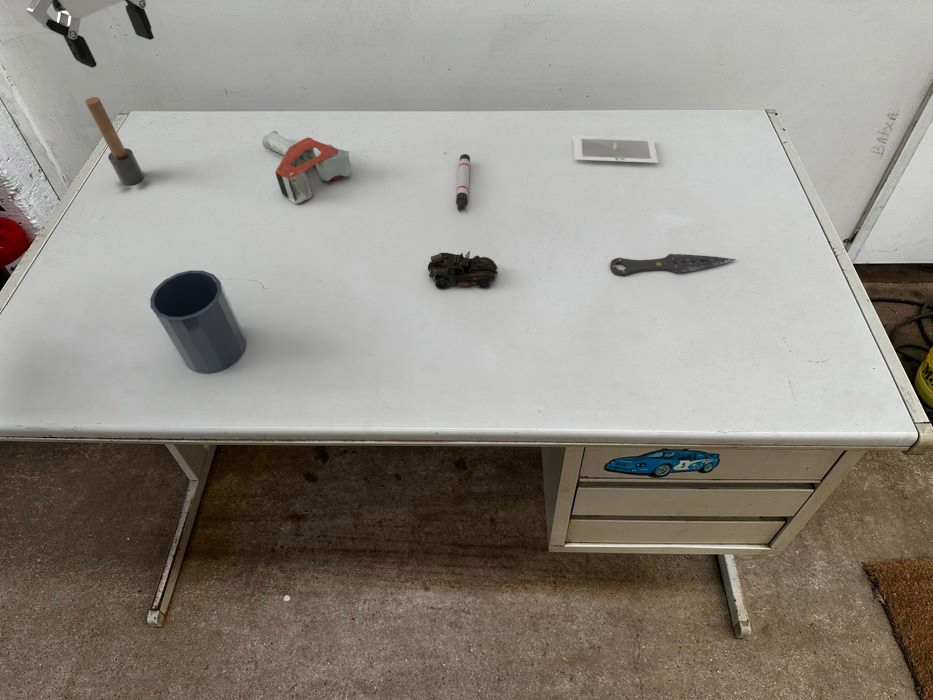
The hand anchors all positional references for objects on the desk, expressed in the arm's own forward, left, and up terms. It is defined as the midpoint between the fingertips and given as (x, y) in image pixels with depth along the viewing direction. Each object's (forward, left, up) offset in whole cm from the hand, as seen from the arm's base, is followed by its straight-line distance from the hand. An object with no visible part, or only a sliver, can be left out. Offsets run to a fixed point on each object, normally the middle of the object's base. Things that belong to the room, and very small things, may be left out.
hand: (117, 50), depth 86 cm
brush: (-8, +9, -26) cm, 29 cm away
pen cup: (+2, -37, -26) cm, 45 cm away
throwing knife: (+71, -45, -26) cm, 87 cm away
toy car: (+40, -36, -26) cm, 59 cm away
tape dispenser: (+22, 0, -26) cm, 34 cm away
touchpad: (+77, -15, -26) cm, 82 cm away
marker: (+47, -15, -26) cm, 55 cm away
